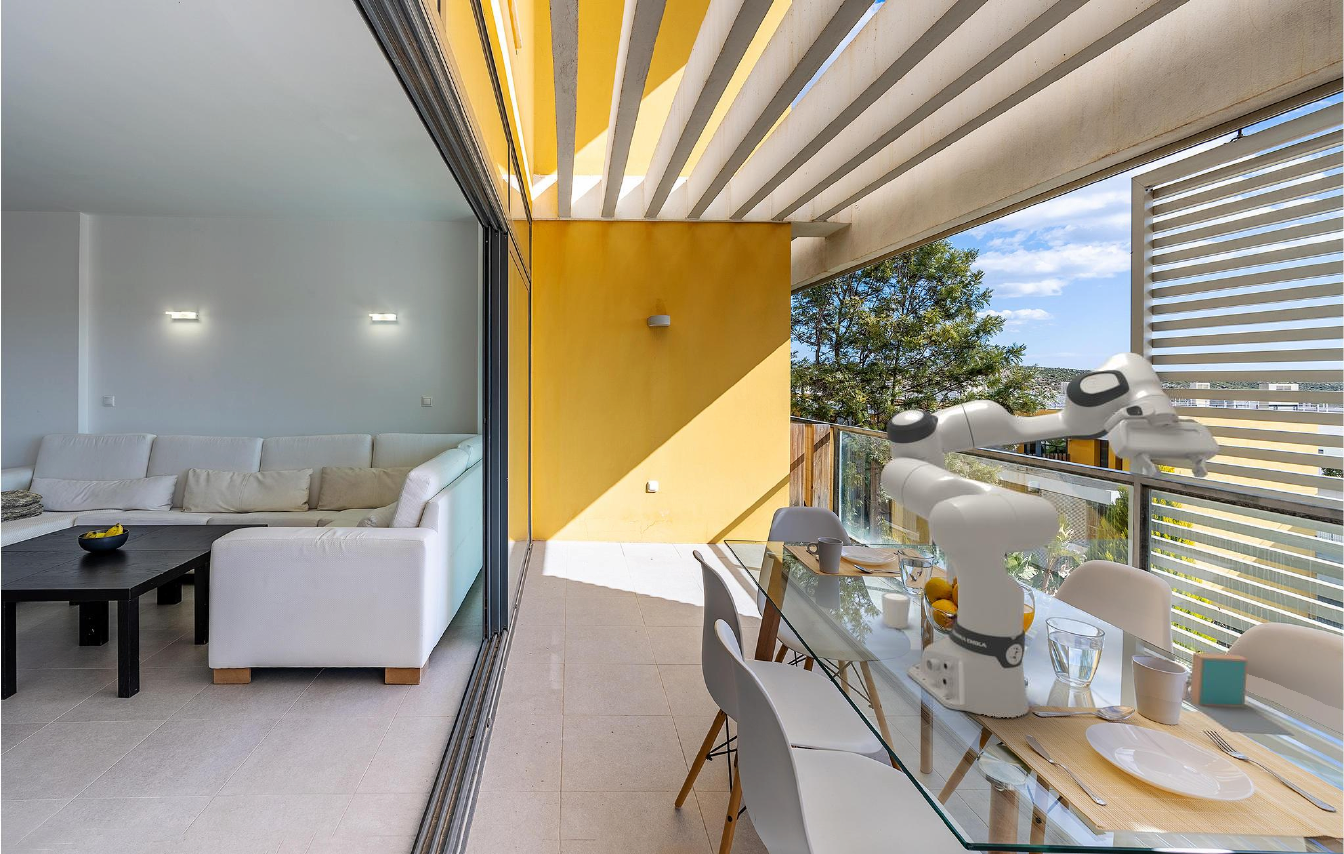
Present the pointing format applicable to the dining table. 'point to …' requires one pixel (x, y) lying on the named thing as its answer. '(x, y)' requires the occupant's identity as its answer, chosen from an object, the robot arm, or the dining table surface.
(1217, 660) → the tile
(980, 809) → the dining table surface
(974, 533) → the robot arm
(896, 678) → the dining table surface
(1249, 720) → the mat
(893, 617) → the white cylinder
